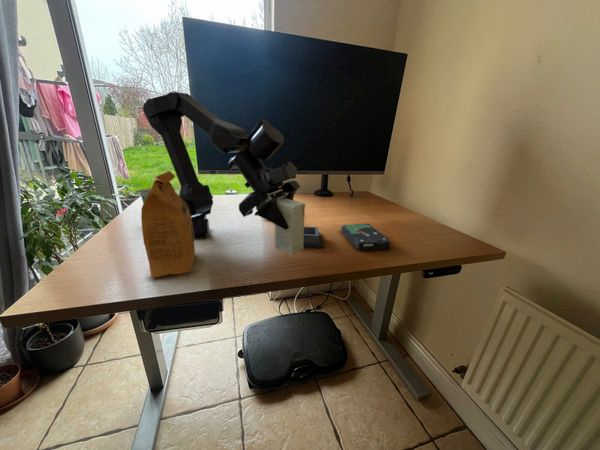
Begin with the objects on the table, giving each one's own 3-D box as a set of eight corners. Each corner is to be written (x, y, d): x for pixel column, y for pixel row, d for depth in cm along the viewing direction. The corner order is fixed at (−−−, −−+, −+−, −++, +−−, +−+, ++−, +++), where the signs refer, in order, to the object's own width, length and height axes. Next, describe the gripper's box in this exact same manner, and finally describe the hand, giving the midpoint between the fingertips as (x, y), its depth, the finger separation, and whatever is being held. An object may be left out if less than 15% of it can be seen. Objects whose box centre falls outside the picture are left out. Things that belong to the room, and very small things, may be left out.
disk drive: (389, 249, 73) (367, 230, 86) (391, 241, 72) (368, 223, 85) (358, 251, 71) (340, 231, 84) (359, 242, 70) (341, 223, 83)
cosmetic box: (303, 250, 60) (306, 203, 55) (292, 256, 57) (294, 207, 52) (285, 241, 64) (286, 197, 59) (273, 247, 61) (273, 200, 56)
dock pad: (321, 248, 71) (322, 237, 70) (284, 246, 71) (285, 236, 70) (319, 234, 81) (320, 225, 79) (286, 232, 80) (286, 223, 79)
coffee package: (201, 251, 65) (192, 169, 57) (193, 277, 54) (180, 180, 46) (161, 253, 63) (146, 169, 55) (143, 281, 52) (121, 179, 44)
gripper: (248, 152, 45) (296, 219, 45) (295, 148, 61) (331, 198, 60) (220, 186, 51) (261, 245, 51) (269, 175, 67) (301, 220, 67)
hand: (292, 225), depth 57 cm, fingers closed on cosmetic box, 5 cm apart
